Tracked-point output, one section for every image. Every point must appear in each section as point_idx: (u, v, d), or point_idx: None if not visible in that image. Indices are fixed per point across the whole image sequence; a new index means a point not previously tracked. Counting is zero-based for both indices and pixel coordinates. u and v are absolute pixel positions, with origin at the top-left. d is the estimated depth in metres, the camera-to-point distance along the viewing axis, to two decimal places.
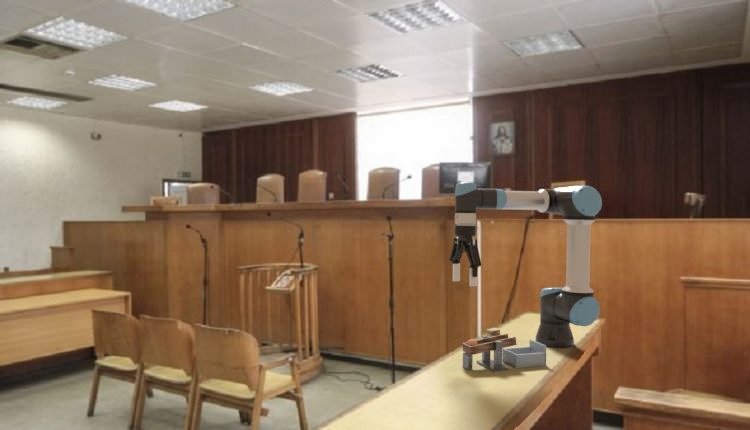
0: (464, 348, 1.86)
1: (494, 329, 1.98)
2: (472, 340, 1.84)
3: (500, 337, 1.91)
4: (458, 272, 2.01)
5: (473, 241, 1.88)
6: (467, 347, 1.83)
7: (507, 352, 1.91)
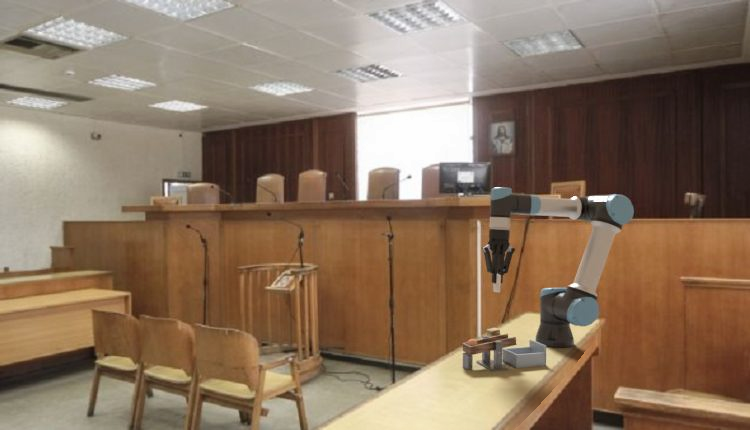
0: (464, 348, 1.86)
1: (494, 329, 1.98)
2: (472, 340, 1.84)
3: (500, 337, 1.91)
4: None
5: (483, 249, 1.99)
6: (467, 347, 1.83)
7: (507, 352, 1.91)
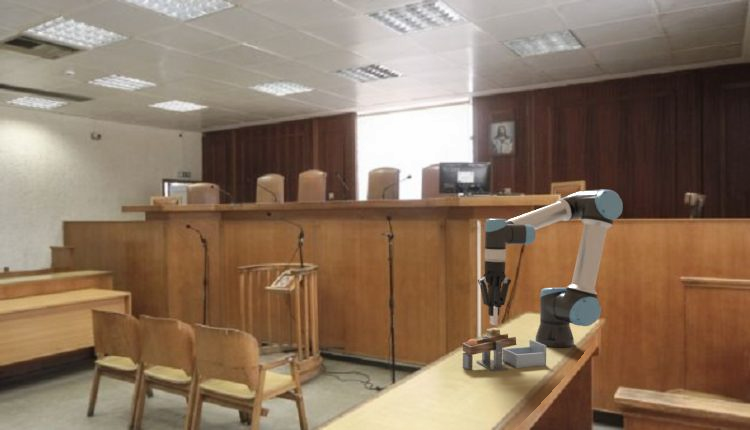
0: (464, 348, 1.86)
1: (494, 329, 1.98)
2: (472, 340, 1.84)
3: (500, 337, 1.91)
4: None
5: (479, 282, 1.96)
6: (467, 347, 1.83)
7: (507, 352, 1.91)
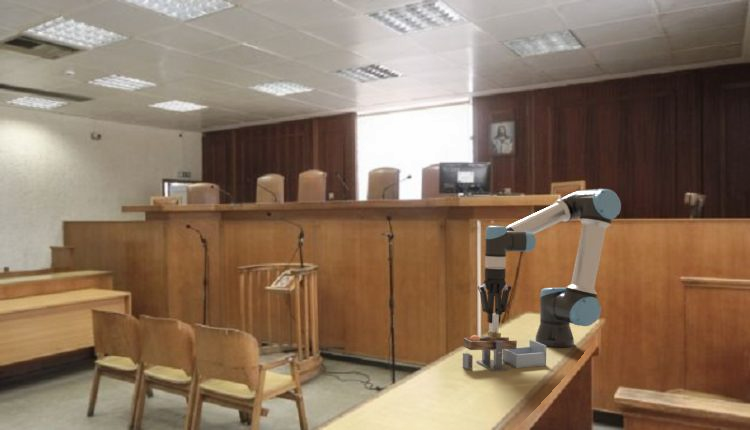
0: (464, 343, 1.86)
1: (495, 332, 1.98)
2: (476, 336, 1.85)
3: (501, 339, 1.91)
4: (495, 322, 1.97)
5: (479, 289, 1.96)
6: (468, 342, 1.84)
7: (507, 352, 1.91)
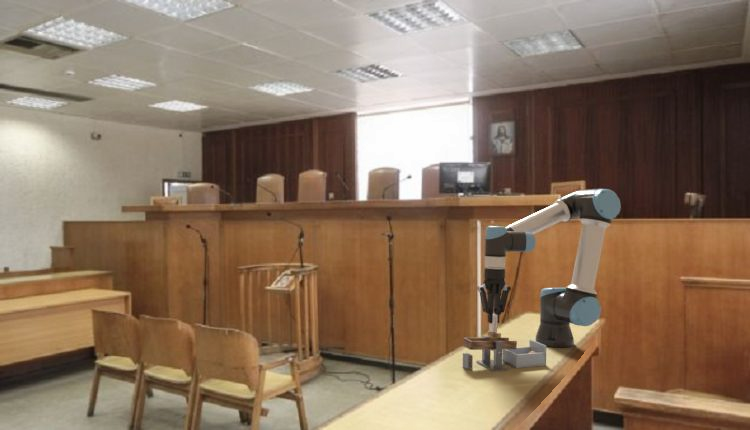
0: (464, 343, 1.86)
1: None
2: None
3: (501, 339, 1.91)
4: None
5: (479, 289, 1.96)
6: (468, 341, 1.84)
7: (507, 352, 1.91)
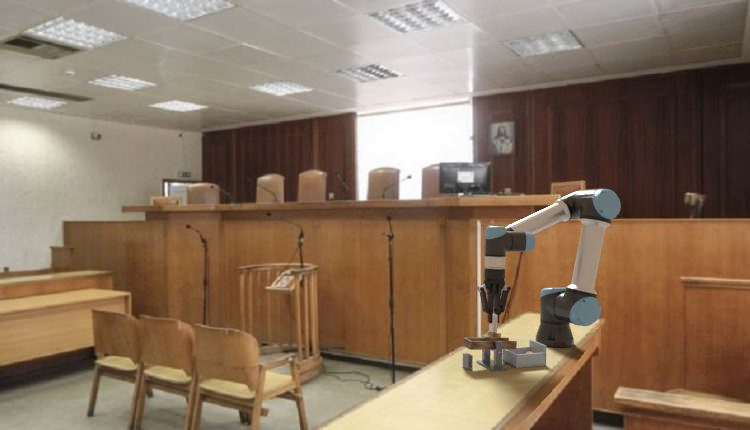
0: (464, 343, 1.86)
1: None
2: None
3: (501, 339, 1.91)
4: None
5: (479, 289, 1.96)
6: (468, 341, 1.84)
7: (507, 352, 1.91)
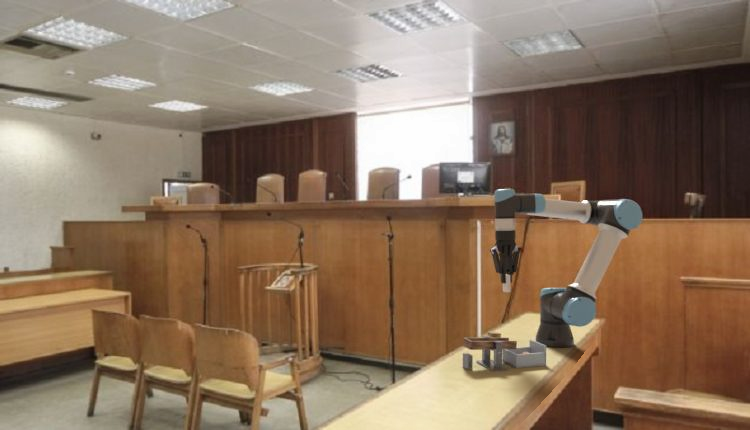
0: (464, 343, 1.86)
1: (495, 332, 1.98)
2: (528, 353, 1.91)
3: (501, 339, 1.91)
4: None
5: (491, 251, 2.02)
6: (468, 341, 1.84)
7: (507, 352, 1.91)
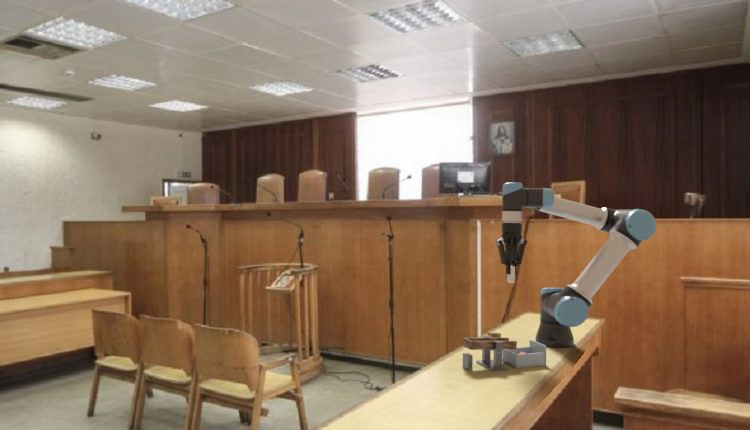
0: (464, 343, 1.86)
1: (495, 332, 1.98)
2: (522, 353, 1.91)
3: (501, 339, 1.91)
4: None
5: (497, 242, 2.07)
6: (468, 341, 1.84)
7: (507, 352, 1.91)
